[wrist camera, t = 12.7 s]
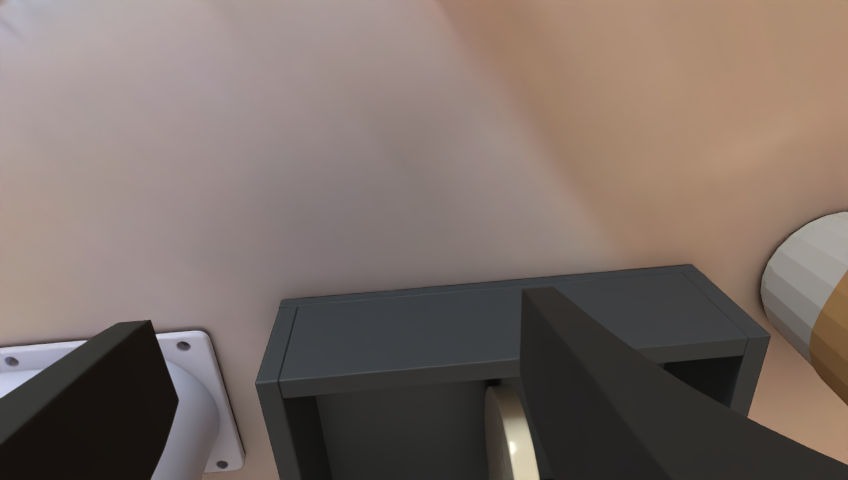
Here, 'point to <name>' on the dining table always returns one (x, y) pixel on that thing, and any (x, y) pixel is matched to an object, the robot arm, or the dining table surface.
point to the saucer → (508, 436)
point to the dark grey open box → (469, 366)
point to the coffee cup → (813, 296)
